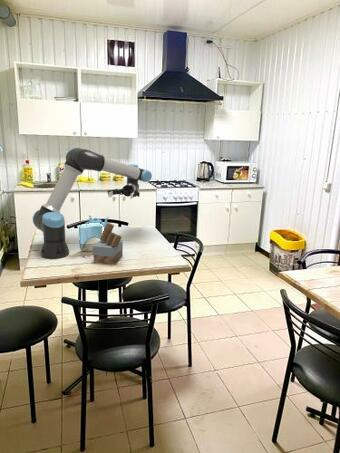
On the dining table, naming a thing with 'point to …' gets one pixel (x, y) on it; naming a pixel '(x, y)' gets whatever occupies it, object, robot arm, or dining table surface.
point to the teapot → (97, 221)
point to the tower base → (108, 259)
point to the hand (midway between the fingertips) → (120, 195)
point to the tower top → (106, 249)
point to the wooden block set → (110, 236)
